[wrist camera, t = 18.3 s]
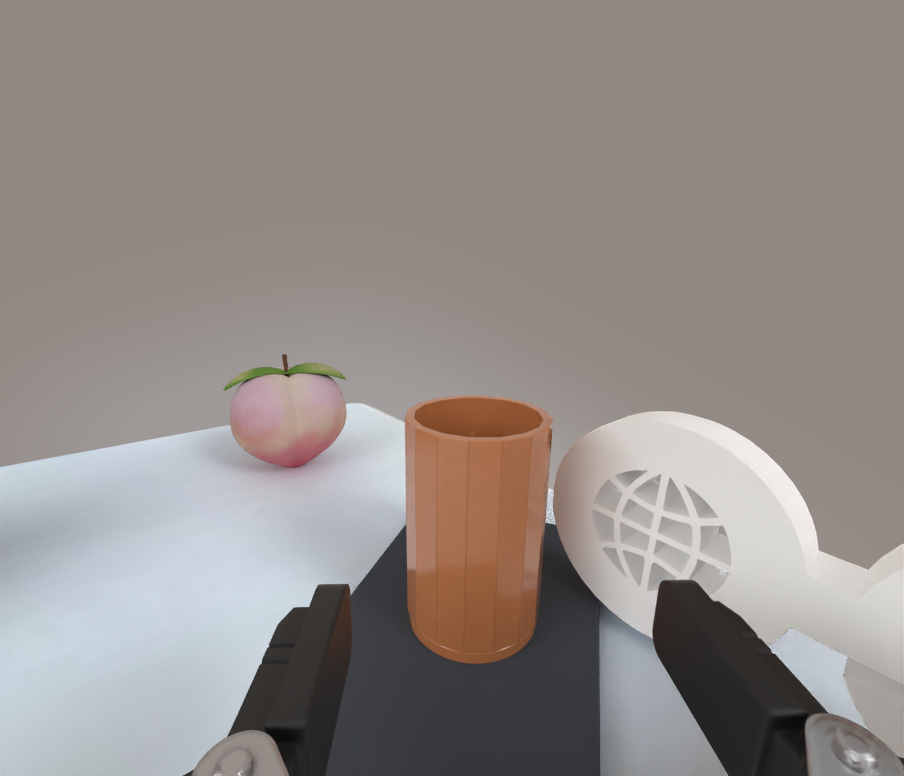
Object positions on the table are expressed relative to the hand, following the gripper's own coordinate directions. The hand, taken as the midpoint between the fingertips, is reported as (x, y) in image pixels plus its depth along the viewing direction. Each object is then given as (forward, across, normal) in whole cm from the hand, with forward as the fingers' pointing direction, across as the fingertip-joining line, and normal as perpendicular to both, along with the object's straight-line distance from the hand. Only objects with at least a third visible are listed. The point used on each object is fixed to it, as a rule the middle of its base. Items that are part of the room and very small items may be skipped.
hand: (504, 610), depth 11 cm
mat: (+9, 0, +8) cm, 12 cm away
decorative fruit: (+27, +14, +8) cm, 31 cm away
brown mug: (+10, 0, +8) cm, 12 cm away
